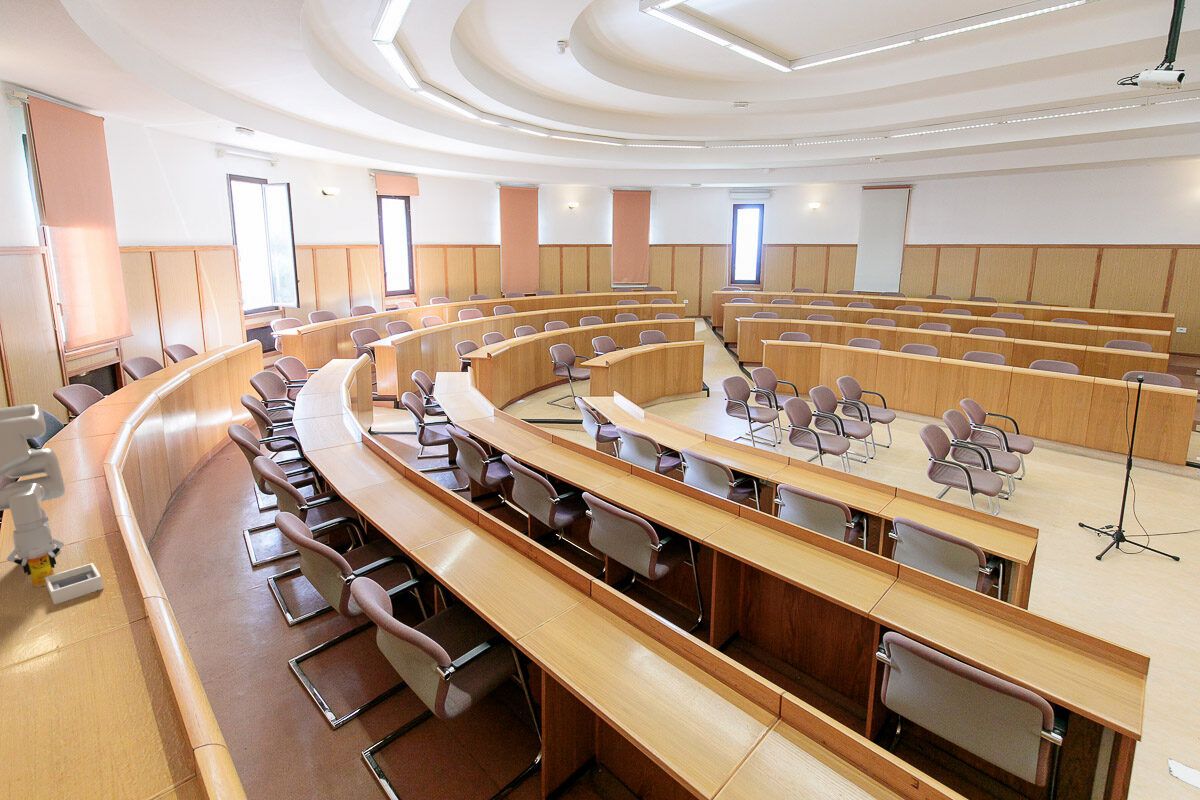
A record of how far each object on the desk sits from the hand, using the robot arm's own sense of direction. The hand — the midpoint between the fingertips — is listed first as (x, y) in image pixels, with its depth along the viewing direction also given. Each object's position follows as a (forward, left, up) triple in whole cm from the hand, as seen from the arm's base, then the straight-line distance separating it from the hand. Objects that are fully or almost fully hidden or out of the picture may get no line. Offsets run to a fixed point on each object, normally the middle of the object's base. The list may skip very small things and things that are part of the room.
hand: (40, 569), depth 224 cm
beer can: (0, 0, -6) cm, 6 cm away
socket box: (+13, +7, -6) cm, 16 cm away
